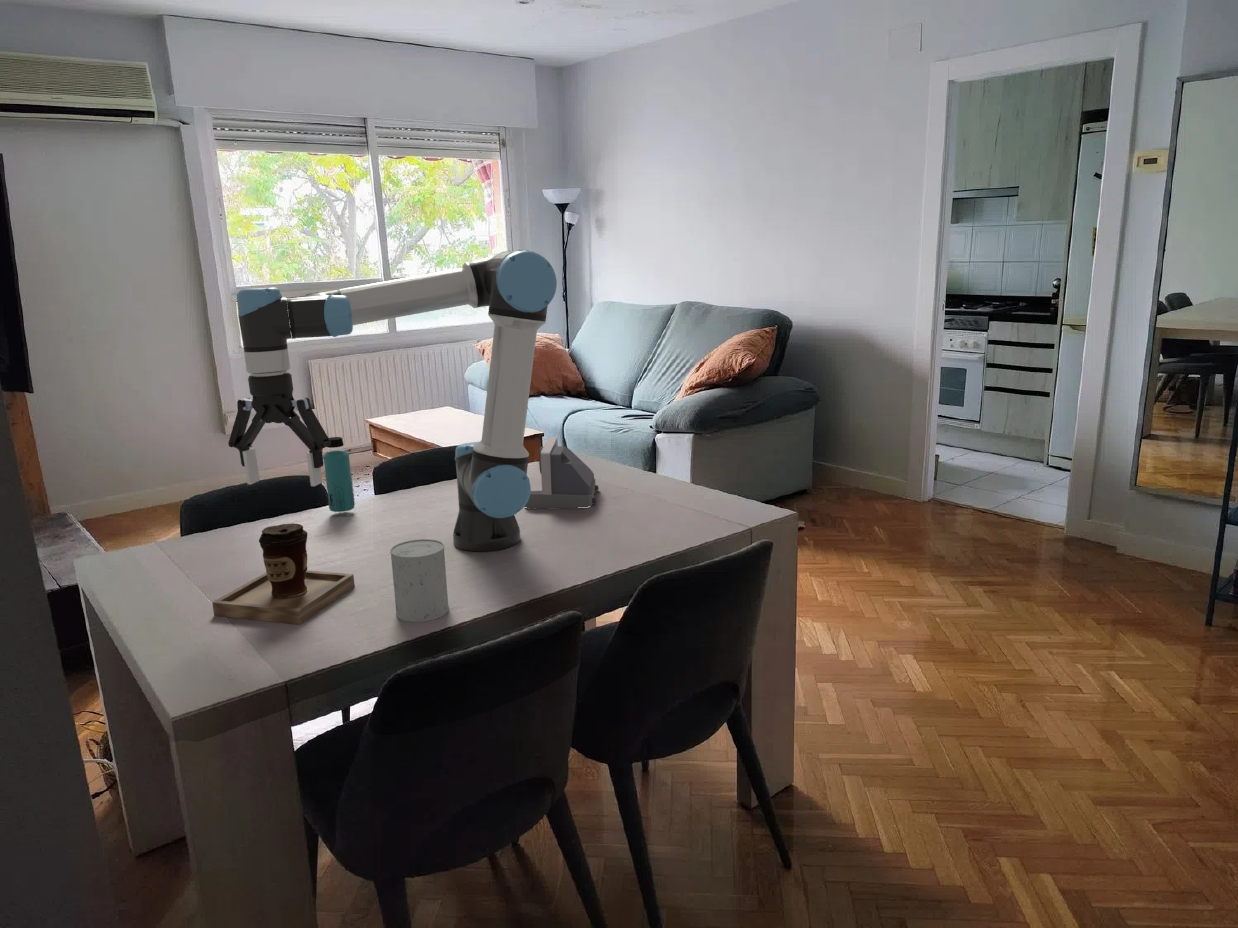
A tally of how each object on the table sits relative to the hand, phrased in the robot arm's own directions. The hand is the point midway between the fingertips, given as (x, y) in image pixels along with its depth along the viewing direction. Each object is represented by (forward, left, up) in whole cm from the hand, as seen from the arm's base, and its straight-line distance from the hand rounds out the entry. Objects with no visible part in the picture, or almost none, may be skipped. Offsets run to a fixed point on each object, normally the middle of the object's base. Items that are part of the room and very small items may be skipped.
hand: (284, 483), depth 161 cm
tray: (-1, +5, -22) cm, 22 cm away
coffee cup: (-2, +5, -20) cm, 21 cm away
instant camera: (-31, -71, -22) cm, 81 cm away
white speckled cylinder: (-29, +4, -22) cm, 37 cm away
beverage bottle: (+20, -47, -22) cm, 55 cm away
